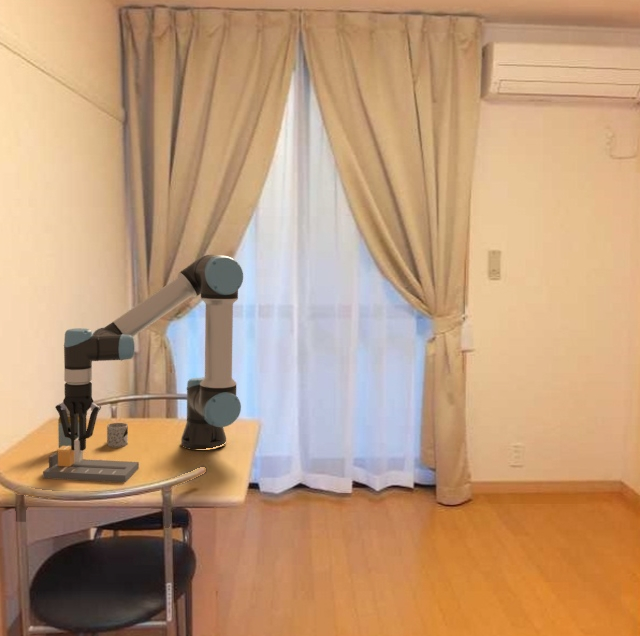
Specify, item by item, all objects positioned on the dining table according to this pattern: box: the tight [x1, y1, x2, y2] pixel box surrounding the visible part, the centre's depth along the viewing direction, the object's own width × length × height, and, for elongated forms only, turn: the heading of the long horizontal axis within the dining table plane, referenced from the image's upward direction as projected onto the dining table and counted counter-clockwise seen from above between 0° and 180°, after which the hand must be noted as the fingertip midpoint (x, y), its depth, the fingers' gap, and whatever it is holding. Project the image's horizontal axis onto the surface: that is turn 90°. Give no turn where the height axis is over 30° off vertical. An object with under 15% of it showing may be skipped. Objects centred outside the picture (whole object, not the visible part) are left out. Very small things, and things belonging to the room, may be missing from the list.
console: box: [42, 452, 140, 483], centre depth 199 cm, size 24×12×5 cm, turn 87°
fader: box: [56, 446, 75, 467], centre depth 199 cm, size 4×4×5 cm
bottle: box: [57, 407, 79, 449], centre depth 219 cm, size 7×7×15 cm
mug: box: [106, 422, 129, 448], centre depth 229 cm, size 10×7×7 cm, turn 20°
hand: (78, 460), depth 199 cm, fingers closed
